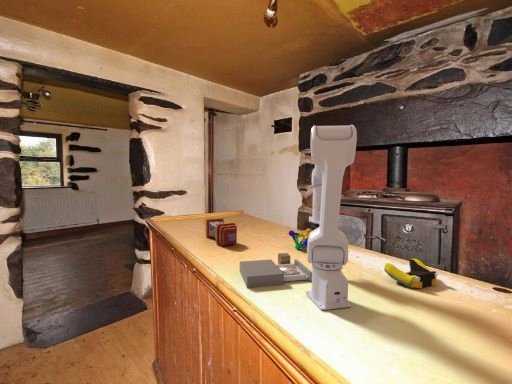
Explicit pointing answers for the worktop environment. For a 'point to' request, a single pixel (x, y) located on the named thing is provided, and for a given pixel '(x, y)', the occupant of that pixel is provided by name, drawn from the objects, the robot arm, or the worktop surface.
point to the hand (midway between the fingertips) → (320, 247)
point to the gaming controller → (413, 275)
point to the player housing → (261, 273)
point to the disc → (288, 269)
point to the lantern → (221, 231)
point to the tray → (298, 272)
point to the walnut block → (283, 258)
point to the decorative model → (305, 235)
